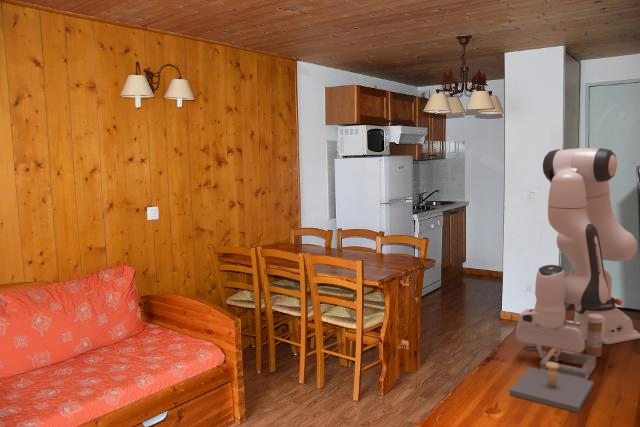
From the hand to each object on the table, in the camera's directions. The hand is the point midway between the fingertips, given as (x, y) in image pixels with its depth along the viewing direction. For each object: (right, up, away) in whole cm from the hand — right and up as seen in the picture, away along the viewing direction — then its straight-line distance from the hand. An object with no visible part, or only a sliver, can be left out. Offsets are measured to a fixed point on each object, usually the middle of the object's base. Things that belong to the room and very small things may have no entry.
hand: (549, 359), depth 170 cm
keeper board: (-6, -4, -17) cm, 19 cm away
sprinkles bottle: (+17, 0, +6) cm, 18 cm away
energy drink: (0, 0, +14) cm, 14 cm away
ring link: (+4, -2, -3) cm, 6 cm away
